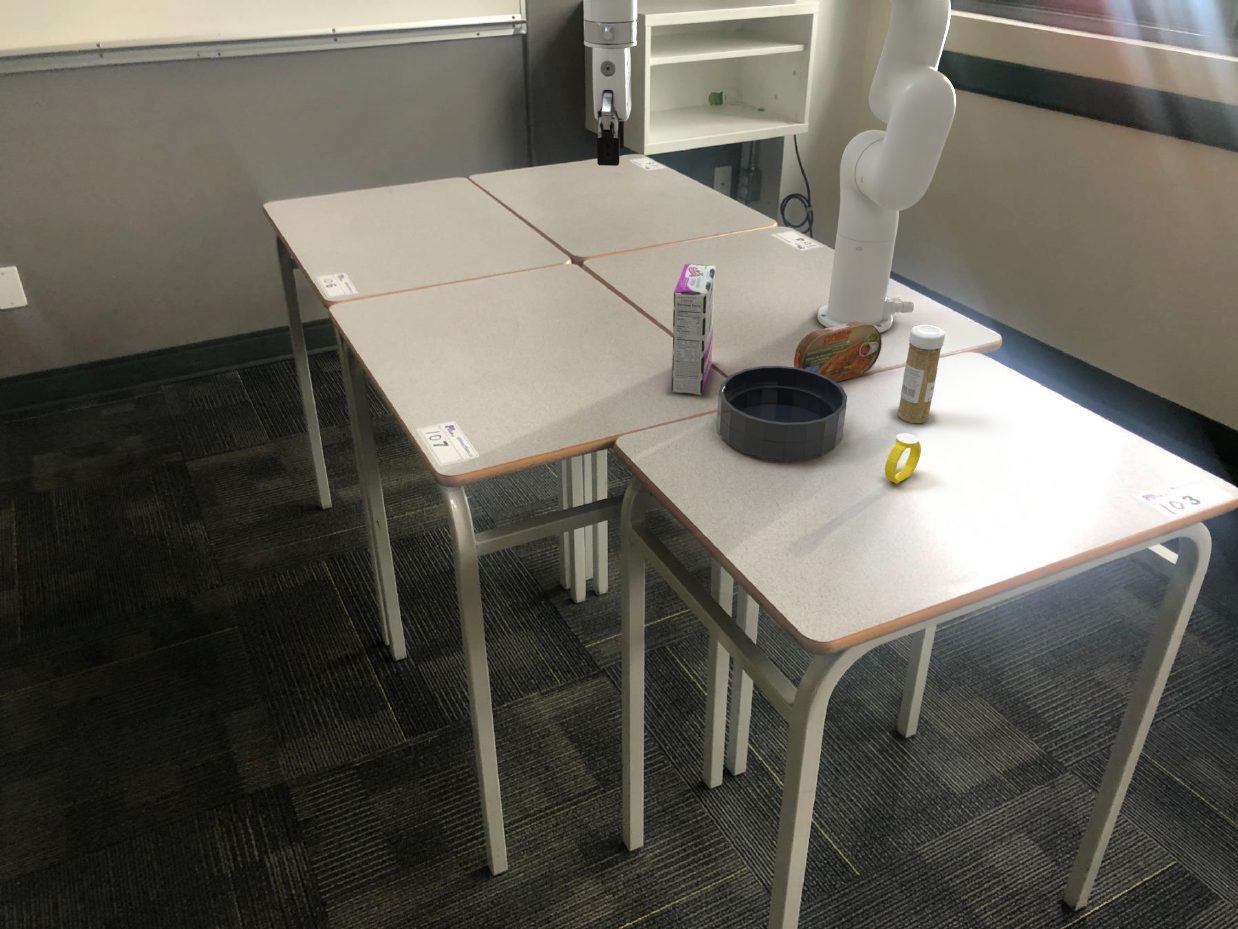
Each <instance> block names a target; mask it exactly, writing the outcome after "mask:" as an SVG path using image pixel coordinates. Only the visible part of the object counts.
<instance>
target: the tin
mask: <svg viewBox="0 0 1238 929" xmlns="http://www.w3.org/2000/svg"><path fill="white" fill-rule="evenodd" d="M882 345H883V341H882V335H881V333H879V331H878V329H877V328H875V327H874V326H872V325H869V324H866V323H864V322H860V321H853V322H849V323H845V324H841V325H837V326H833V327H829V328H827V327H825V328H821V329H817V330H813V331H812V332H811V331H810V332H809V333H808V334H806V335H805V336H804V337H803V338H802V339H801V340H800V342H799V343H798V345H797V347H796V348H795V352H794V357H793V358H794V359H793V365H794V366H793V367H797V368H802V369H805V370H809V371H813V372H817V373H819V374H821V375H824V376H826V377H828V378H830V379H832V380H834V381H835V382H836V383H839V382H842V381H847V380H849V379H853V378H857V377H860V376H862V375H863V376H864V374H866V373H867V372H868V371H870V370H871V369H872V368H873V367H874V365H875V364H876V363H877V361H878V359H879V357H880V354H881V350H882Z"/></svg>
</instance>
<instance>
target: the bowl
mask: <svg viewBox="0 0 1238 929" xmlns="http://www.w3.org/2000/svg"><path fill="white" fill-rule="evenodd" d="M717 396H718V397H717V410H716V411H717V413H716V428H717V431H718V434H719V436H720V437H721V438H722V439H723V440H724V441H725V442H726V443H727V444H728V445H729V446H731V447H733V448H735V449H737V450H739V451H740V452H742V453H745V454H747V455H749V456H753V457H757V458H761V459H764V460H771V461H781V462H796V461H803V460H804V461H805V460H808V459H813V458H816V457H817V458H818V457H822V456H823V455H825V454H827V453H829V452H832V451H833V450H835V449H836V447H837V446H838V445H839V444H840V443H841V442H842V440H843V435H844V434H843V433H844V426H845V420H846V414H847V413H846V412H847V407H848V395H847V393H846V391H845V389H844V388H843V387H842V386H841V385H840V384H839V383H838V382H835V381H834V380H832V379H830V378H828V377H826V376H824V375H821V374H819V373H817V372H813V371H809V370H805V369H802V368H797V367H794V366H787V365H760V366H754V367H750V368H749V367H748V368H744V369H741V370H739V371H736V372H733V373H732V374H729V375H728V376H727V377H726V378H725V379H724V380H722V381H721V383H720V386H719V389H718V395H717Z"/></svg>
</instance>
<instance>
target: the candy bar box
mask: <svg viewBox="0 0 1238 929" xmlns="http://www.w3.org/2000/svg"><path fill="white" fill-rule="evenodd" d="M716 267H717V266H716V265H709V264H707V265H706V264H705V265H704V264H694V263H685V264H684V265H683V268H682V270H681V273H680V275H679V278H678V280H677V283H676V286H675V288H674V290H673V311H672V312H673V314H672V316H673V317H672V319H673V320H672V366H671V367H672V369H671V370H672V372H671V375H672V376H671V393H673V394H678V395H690V396H691V395H693V396H703V395H704V391H705V387H706V383H707V380H708V377H709V375H710V374H709V373H710V370H711V367H712V364H713V362H712V360H713V358H712V356H713V335H714V332H713V331H714V330H713V329H714V310H715V286H716V269H717V268H716Z"/></svg>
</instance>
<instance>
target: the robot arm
mask: <svg viewBox="0 0 1238 929" xmlns="http://www.w3.org/2000/svg"><path fill="white" fill-rule="evenodd" d="M889 4H890V19H889V24H888V29H887V32H886V36H885V41H884V44H883V47H882V50H881V54H880V57H879V60H878V63H877V65H876V66H877V67H876V69H875V72H874V75H873V78H872V81H871V85H870V89H869V93H868V105H869V109H870V110H871V113H872V114H873V115H874V116H875V117H876V118H877V119H878V120H879V121H881V122H883V123H885V125H887V126H886V129H885V130H881V129H868V130H865V131H862V132H859V133H857V135H855V136H854V137H852V139H851V140H850V141H849V142H848V143H847V145H846V146H845V148H844V150H843V152H842V156H841V159H840V163H839V164H840V165H839V209H838V210H839V211H838V220H837V230H836V237H835V244H834V252H833V260H832V261H833V262H832V270H831V277H830V285H829V286H830V287H829V293H828V294H829V295H828V300H827V301H828V303H826V304H823V305H822V306H820V308H819V309H818V311H817V321H818V322H819V323H820V325H822V326H824V327H825V328H829V327H833V326H837V325H841V324H845V323H849V322H853V321H860V322H864V323H866V324H869V325H872V326H874V327H875V328H877V329H878V331H879V333H880V334H881V333H884V332H886V331H888V330H889V329H890V328H891V327H892V325H893V320H894V319H893V315H895V314H896V313H900V314H911V313H913V312H914V309H915V306H914V301H912V300H911V301H910V300H909V301H908V300H907V301H903V300H902V297H889V296H888V292H889V291H888V289H889V285H890V284H889V283H890V278H891V270H892V265H893V259H894V252H895V246H896V239H897V234H898V228H899V218H900V212H901V211H904V210H907V209H909V208H911V207H913V206H914V205H916V204H917V203H918V202H919V201H920V200H921V199H922V198H923V197H924V195H925V194H926V192H927V191H928V189H929V187H930V185H931V183H932V181H933V178H934V175H935V173H936V170H937V167H938V164H939V162H940V158H941V156H942V153H943V150H944V147H945V144H946V141H947V139H948V136H949V133H950V131H951V127H952V125H953V122H954V117H955V112H956V92H955V89H954V86H953V84H952V82H951V80H949V78H948V77H947V76H946V75H945V74H943V73H942V72H940V71H939V70H938V67H939V63H940V60H941V57H942V53H943V49H944V45H945V42H946V38H947V35H948V30H949V27H950V20H951V0H889ZM583 45H584V46H585V47H588V48H592V49H591V51H592V52H591V53H592V54H591V55H592V93H593V95H592V96H593V114H594V119H595V120H597V121H598V125H597V126H598V128H597V136H596V162H597V165H598V166H605V167H606V166H607V167H608V166H611V167H617V166H619V165H620V150H622V149H623V148H624V147H625V122H626V121H628V120H629V118H630V115H631V111H632V62H631V60H632V59H631V58H632V57H631V48H633V47H636V46H638V0H583Z"/></svg>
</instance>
